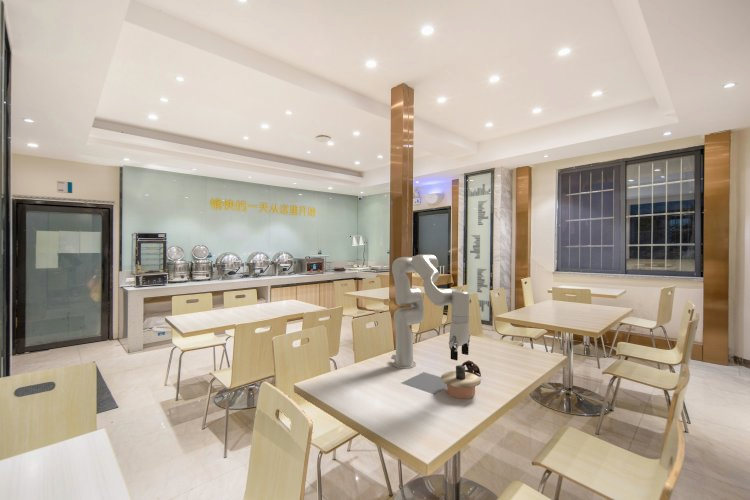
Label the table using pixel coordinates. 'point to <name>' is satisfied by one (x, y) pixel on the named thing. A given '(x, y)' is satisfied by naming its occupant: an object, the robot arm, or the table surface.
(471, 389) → the bowl
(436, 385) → the mat
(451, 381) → the lid
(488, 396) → the table surface
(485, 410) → the table surface
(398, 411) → the table surface
